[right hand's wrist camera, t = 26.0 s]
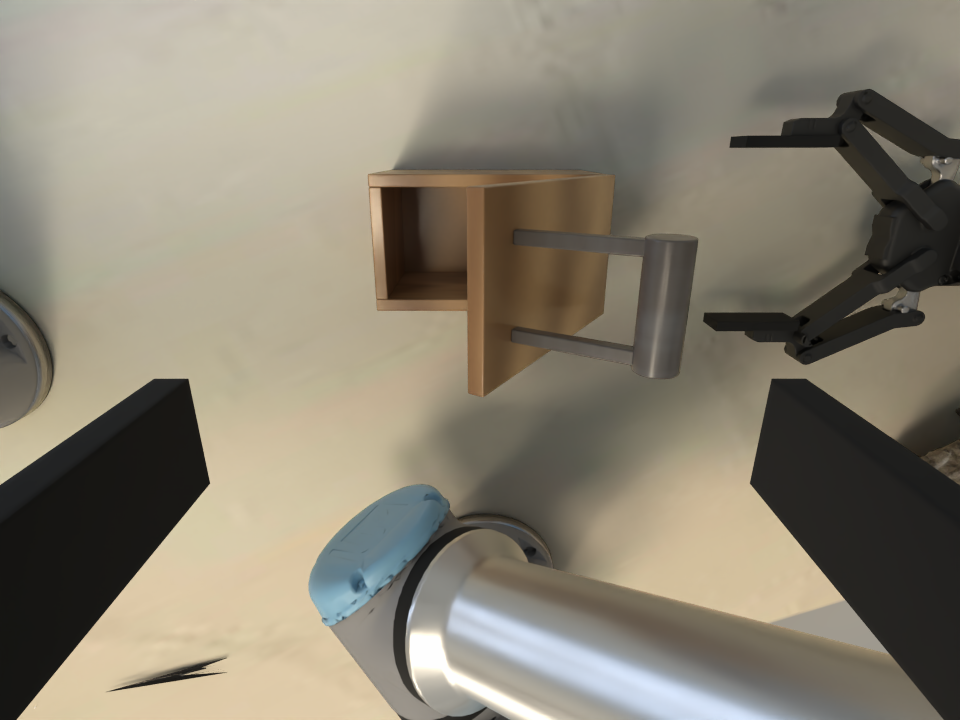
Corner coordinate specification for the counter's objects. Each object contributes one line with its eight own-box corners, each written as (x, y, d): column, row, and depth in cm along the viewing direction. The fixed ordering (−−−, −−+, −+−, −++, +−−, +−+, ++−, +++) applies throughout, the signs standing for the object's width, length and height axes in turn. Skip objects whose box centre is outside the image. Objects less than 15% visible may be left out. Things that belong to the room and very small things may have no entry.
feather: (41, 695, 70) (26, 702, 68) (234, 654, 66) (224, 660, 64) (42, 710, 70) (27, 717, 68) (236, 669, 66) (226, 676, 64)
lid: (467, 393, 26) (656, 442, 22) (465, 186, 23) (688, 194, 18) (591, 312, 39) (723, 331, 35) (602, 174, 36) (749, 177, 32)
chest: (397, 279, 50) (376, 310, 40) (391, 169, 46) (367, 173, 36) (573, 279, 50) (596, 311, 40) (580, 169, 46) (607, 174, 36)
